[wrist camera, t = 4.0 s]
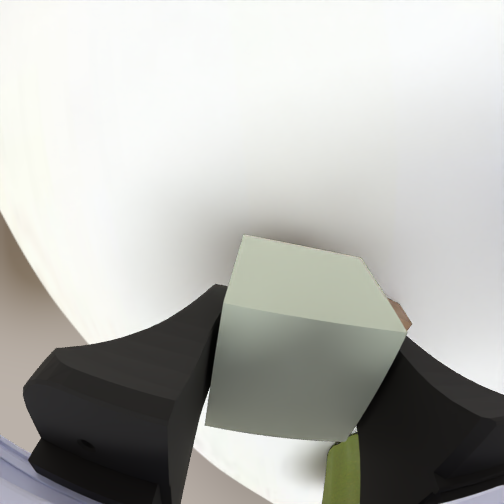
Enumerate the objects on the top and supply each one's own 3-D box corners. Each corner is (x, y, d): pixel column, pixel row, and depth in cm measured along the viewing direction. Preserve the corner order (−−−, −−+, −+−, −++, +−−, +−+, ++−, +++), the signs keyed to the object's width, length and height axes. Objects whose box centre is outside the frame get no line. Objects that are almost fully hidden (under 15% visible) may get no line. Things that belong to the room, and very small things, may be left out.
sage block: (360, 257, 12) (407, 332, 7) (327, 351, 13) (345, 441, 8) (243, 234, 12) (223, 303, 7) (225, 334, 13) (204, 425, 8)
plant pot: (283, 443, 26) (281, 546, 16) (400, 396, 23) (436, 502, 13) (329, 484, 29) (335, 562, 19) (422, 448, 26) (447, 526, 16)
